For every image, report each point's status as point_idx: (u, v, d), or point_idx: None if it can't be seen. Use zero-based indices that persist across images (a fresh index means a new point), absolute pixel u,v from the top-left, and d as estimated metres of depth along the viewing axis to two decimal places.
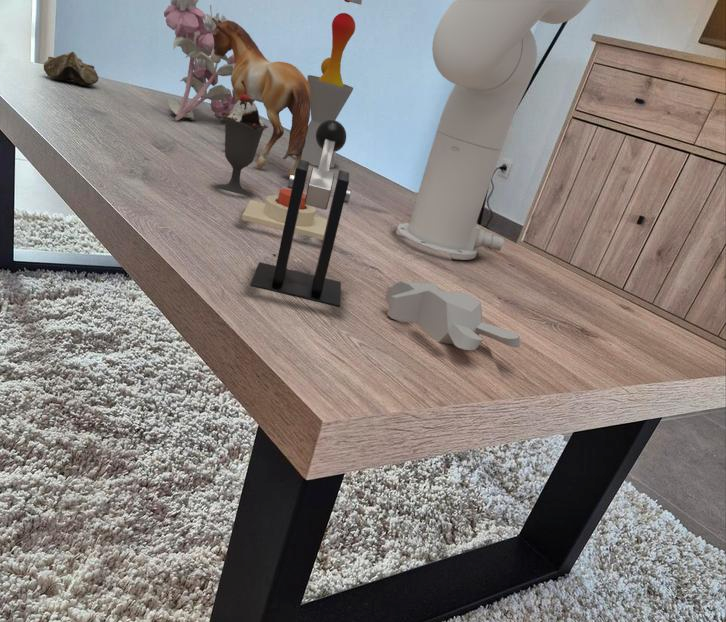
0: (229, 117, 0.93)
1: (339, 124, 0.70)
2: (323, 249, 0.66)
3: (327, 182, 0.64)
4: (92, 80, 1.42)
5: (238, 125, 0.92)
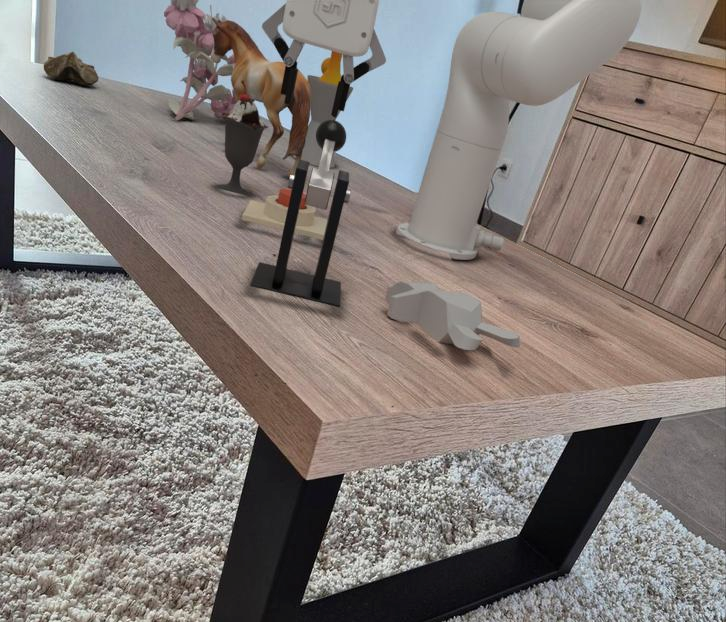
0: (229, 117, 0.93)
1: (339, 124, 0.70)
2: (323, 249, 0.66)
3: (327, 182, 0.64)
4: (92, 80, 1.42)
5: (238, 125, 0.92)
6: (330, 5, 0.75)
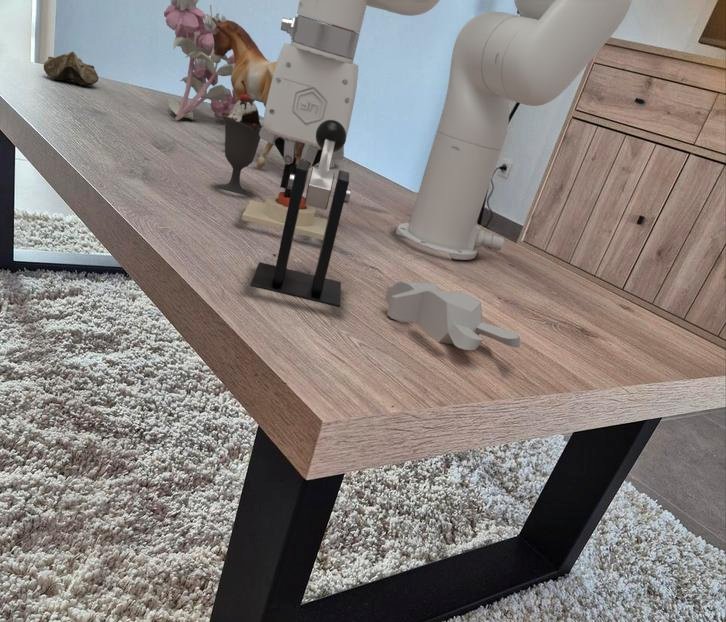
0: (229, 117, 0.93)
1: (339, 124, 0.70)
2: (323, 249, 0.66)
3: (327, 182, 0.64)
4: (92, 80, 1.42)
5: (238, 125, 0.92)
6: (308, 104, 0.80)
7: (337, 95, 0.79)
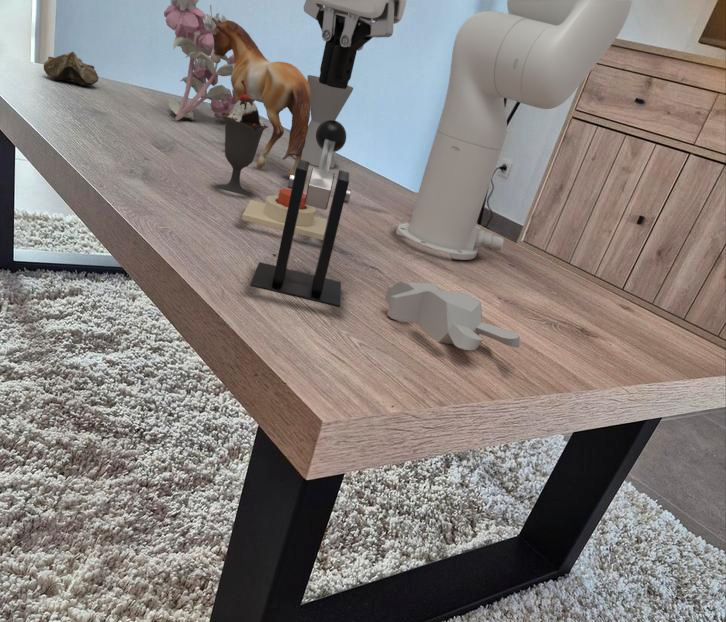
0: (229, 117, 0.93)
1: (339, 124, 0.70)
2: (323, 249, 0.66)
3: (327, 182, 0.64)
4: (92, 80, 1.42)
5: (238, 125, 0.92)
6: None
7: None
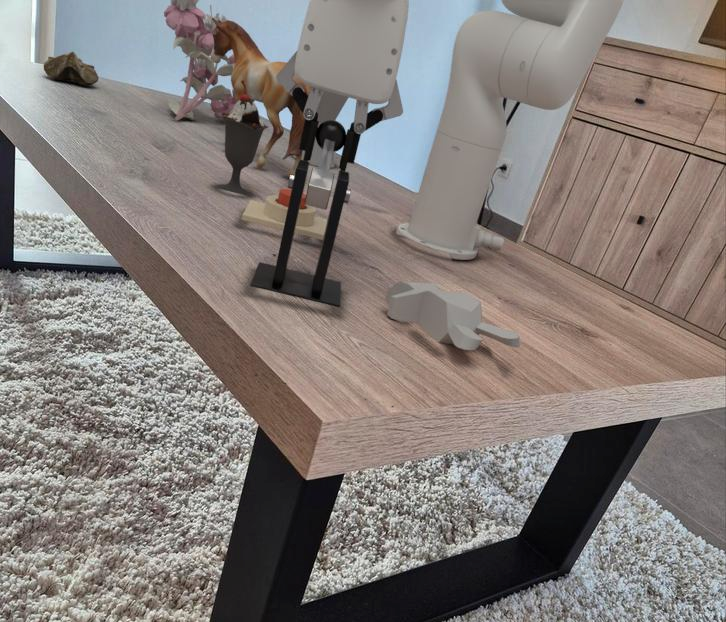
0: (229, 117, 0.93)
1: (339, 124, 0.70)
2: (323, 249, 0.66)
3: (327, 182, 0.64)
4: (92, 80, 1.42)
5: (238, 125, 0.92)
6: None
7: None
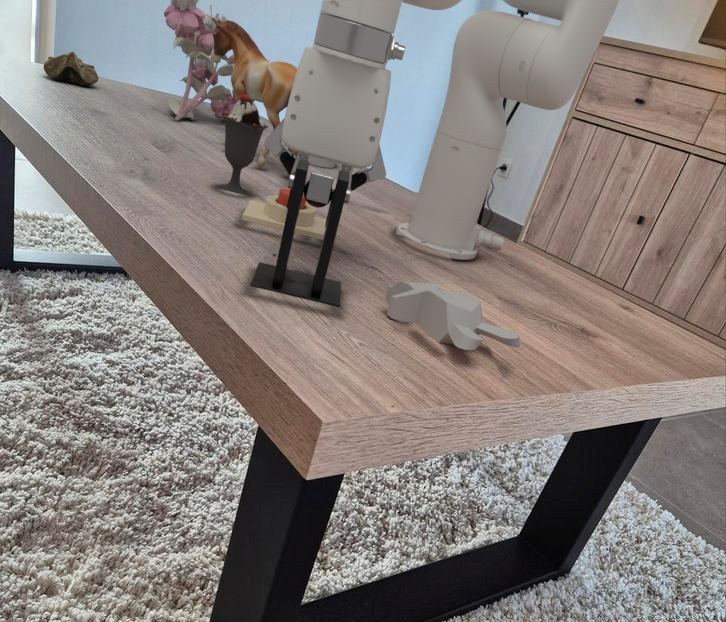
0: (229, 117, 0.93)
1: None
2: (323, 249, 0.66)
3: None
4: (92, 80, 1.42)
5: (238, 125, 0.92)
6: None
7: None
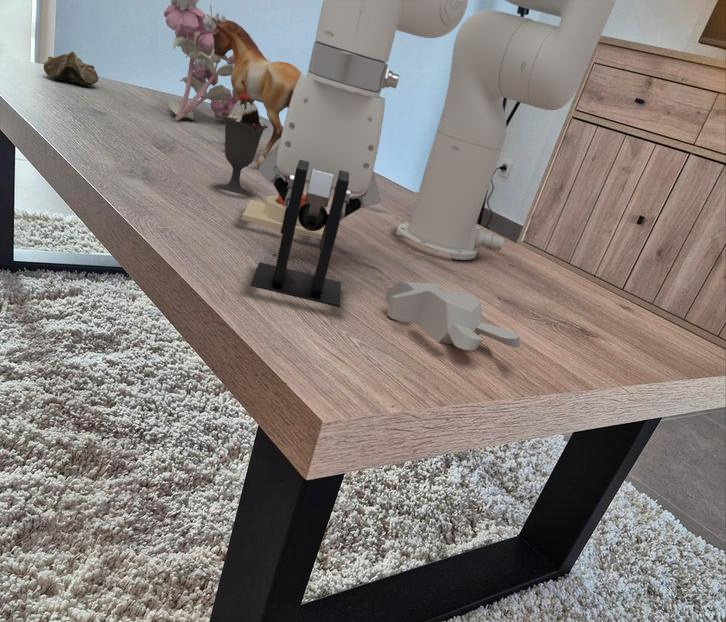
0: (229, 117, 0.93)
1: None
2: (323, 249, 0.66)
3: None
4: (92, 80, 1.42)
5: (238, 125, 0.92)
6: None
7: None
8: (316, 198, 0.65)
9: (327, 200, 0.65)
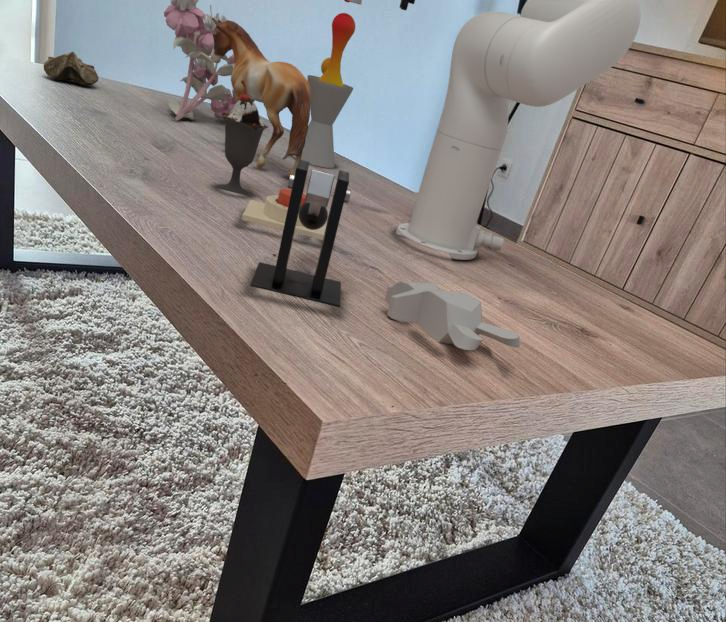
0: (229, 117, 0.93)
1: None
2: (323, 249, 0.66)
3: None
4: (92, 80, 1.42)
5: (238, 125, 0.92)
6: None
7: None
8: (316, 198, 0.65)
9: (327, 200, 0.65)
